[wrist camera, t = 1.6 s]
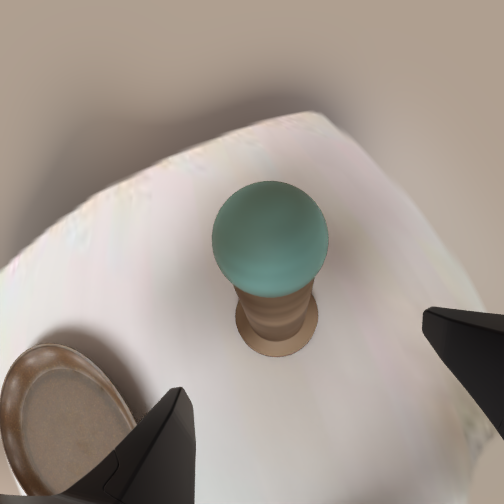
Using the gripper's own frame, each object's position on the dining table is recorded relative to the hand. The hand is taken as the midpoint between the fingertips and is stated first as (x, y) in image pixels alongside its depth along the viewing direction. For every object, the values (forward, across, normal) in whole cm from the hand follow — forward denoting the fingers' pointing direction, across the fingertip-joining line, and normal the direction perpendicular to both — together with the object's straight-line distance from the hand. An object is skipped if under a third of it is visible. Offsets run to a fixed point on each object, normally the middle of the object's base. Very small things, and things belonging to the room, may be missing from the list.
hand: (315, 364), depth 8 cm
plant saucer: (+6, +22, +12) cm, 26 cm away
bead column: (+13, 0, +5) cm, 13 cm away
